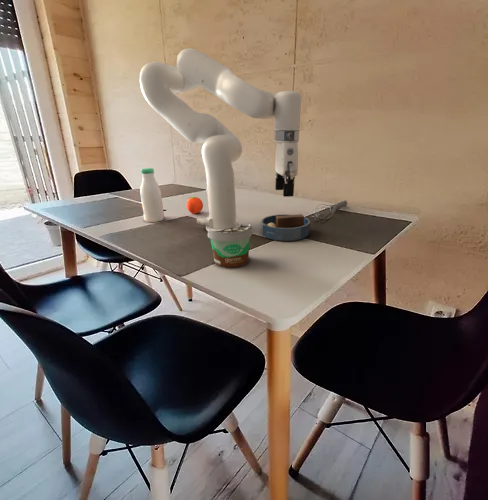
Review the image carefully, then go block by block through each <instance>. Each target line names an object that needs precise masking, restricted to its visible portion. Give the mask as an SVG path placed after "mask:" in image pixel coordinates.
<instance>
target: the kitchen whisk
mask: <svg viewBox="0 0 488 500" xmlns="http://www.w3.org/2000/svg"><path fill="white" fill-rule="evenodd" d="M324 205H325V206H324ZM347 205H348V200H347V199H346V200H345V199H344V200H341V201H339V202H336V203H333V204H323V203H322V204H318V205H317V206H316V208H314V209H312V211H311V213H312V214H313V215H311V218H314V217H315V218H314V221H315V222H317V221H319V222H320V223H322V221H321V220H322V219H324V222H326V221H327V220H328V219H329V218H331V217H332V216H333V215H334V213H335V212H336V211H338V210H341V209H342V208H344V207H346V206H347ZM319 206H323V207H322V209H325V208H326V209H327V210H324V211H318V212H317V213H314V210H318V209H319ZM328 206H329V207H328ZM328 213H330V215H329V216H328V217H326V216H327V215H328ZM323 214H324V217H321V216H320V215H323ZM325 219H326V220H325Z"/></svg>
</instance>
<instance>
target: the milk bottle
mask: <svg viewBox="0 0 488 500" xmlns="http://www.w3.org/2000/svg"><path fill="white" fill-rule="evenodd" d="M140 173H141V176H142V179H141V180H142V181H141V185H140V189H139V192H140V193H139V194H140V202H141V209H142V214H143V220H144V221H145V222H147V223H157V222H160V221H164V220H165V213H164V205H163V198H162V191H161V187H160V186H159V183H158V182H157V180H156V178H155V169H154V168H153V167H145V168H141V169H140Z"/></svg>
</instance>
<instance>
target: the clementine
mask: <svg viewBox="0 0 488 500" xmlns="http://www.w3.org/2000/svg"><path fill="white" fill-rule="evenodd" d="M203 208H204V203H203V201H202V199H201V198H199V197H197V196H190V197H188V199H187V201H186V209H187V211H188V212H189V213H191V214H199V213H200V212H201V211H202V210H203Z"/></svg>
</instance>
